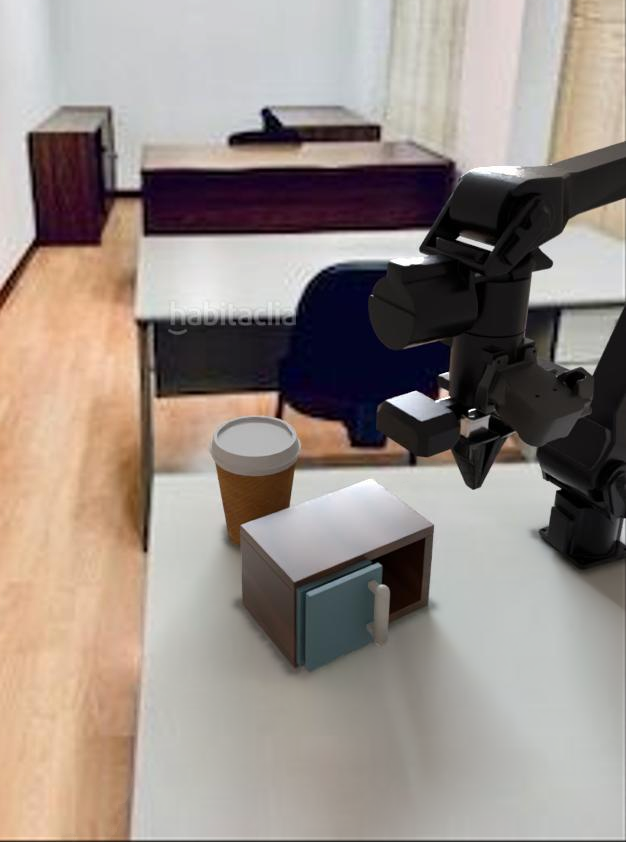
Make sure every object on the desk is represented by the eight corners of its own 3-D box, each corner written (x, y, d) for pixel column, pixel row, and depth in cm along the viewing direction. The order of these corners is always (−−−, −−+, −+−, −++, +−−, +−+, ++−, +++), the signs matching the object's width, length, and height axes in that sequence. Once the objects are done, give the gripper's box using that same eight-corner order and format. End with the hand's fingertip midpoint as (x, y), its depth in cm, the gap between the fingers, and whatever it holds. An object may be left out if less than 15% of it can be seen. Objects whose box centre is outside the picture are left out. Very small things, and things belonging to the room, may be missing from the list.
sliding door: (374, 634, 67) (378, 561, 64) (394, 654, 65) (399, 580, 62) (304, 667, 64) (305, 592, 61) (323, 690, 61) (324, 613, 59)
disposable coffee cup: (295, 565, 77) (295, 462, 73) (203, 555, 79) (198, 454, 75) (305, 511, 86) (306, 416, 81) (223, 503, 88) (219, 410, 83)
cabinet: (368, 552, 79) (371, 477, 75) (432, 609, 71) (439, 528, 68) (242, 604, 72) (239, 524, 69) (297, 673, 64) (298, 587, 61)
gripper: (479, 387, 52) (461, 573, 57) (651, 333, 60) (621, 500, 66) (375, 336, 61) (368, 500, 67) (537, 294, 69) (519, 444, 75)
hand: (472, 486), depth 68 cm, fingers closed
